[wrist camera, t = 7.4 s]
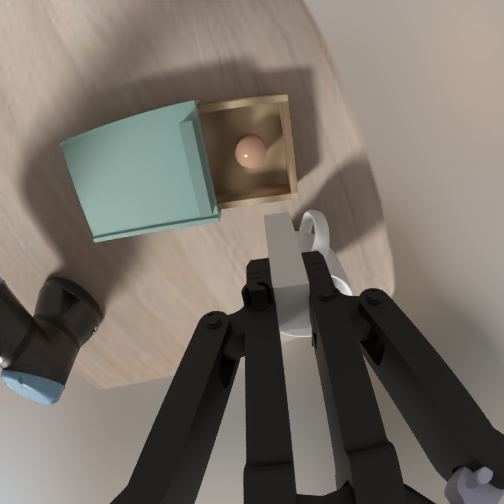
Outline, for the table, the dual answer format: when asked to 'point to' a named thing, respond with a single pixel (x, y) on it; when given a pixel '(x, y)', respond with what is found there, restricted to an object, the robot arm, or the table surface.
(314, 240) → the mug
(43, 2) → the table surface
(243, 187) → the open brown box
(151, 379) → the table surface
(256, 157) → the peach egg shape
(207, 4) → the table surface
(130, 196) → the lid
